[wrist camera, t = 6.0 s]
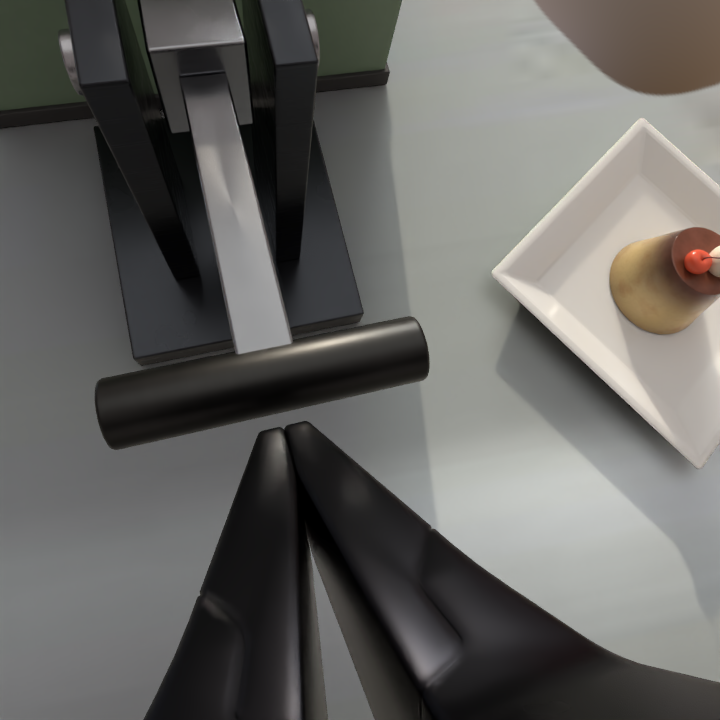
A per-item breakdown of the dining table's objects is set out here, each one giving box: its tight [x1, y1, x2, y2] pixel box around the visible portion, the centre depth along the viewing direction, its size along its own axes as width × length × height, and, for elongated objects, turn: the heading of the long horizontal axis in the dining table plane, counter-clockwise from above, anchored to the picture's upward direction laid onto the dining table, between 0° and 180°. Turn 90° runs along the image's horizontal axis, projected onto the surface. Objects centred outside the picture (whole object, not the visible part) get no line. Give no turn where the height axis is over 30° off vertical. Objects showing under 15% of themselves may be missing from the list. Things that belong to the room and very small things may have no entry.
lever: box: [95, 0, 429, 450], centre depth 12 cm, size 11×6×2 cm, turn 14°
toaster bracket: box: [58, 0, 364, 366], centre depth 17 cm, size 10×9×12 cm
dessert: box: [491, 118, 720, 469], centre depth 23 cm, size 12×12×5 cm
